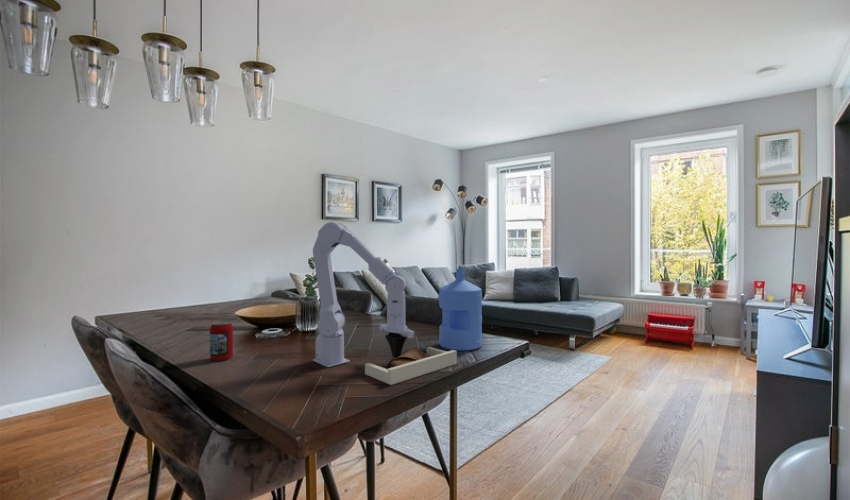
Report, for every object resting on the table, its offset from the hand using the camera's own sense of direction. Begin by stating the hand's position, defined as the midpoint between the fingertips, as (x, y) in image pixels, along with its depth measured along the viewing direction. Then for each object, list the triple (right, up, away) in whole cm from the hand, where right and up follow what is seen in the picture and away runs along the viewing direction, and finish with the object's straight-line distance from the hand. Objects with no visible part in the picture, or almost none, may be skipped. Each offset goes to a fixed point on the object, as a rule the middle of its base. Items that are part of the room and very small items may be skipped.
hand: (396, 357), depth 125 cm
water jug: (+22, -2, +21) cm, 30 cm away
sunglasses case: (+5, -3, -1) cm, 6 cm away
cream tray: (+5, -2, -6) cm, 8 cm away
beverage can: (-58, -2, +6) cm, 58 cm away
